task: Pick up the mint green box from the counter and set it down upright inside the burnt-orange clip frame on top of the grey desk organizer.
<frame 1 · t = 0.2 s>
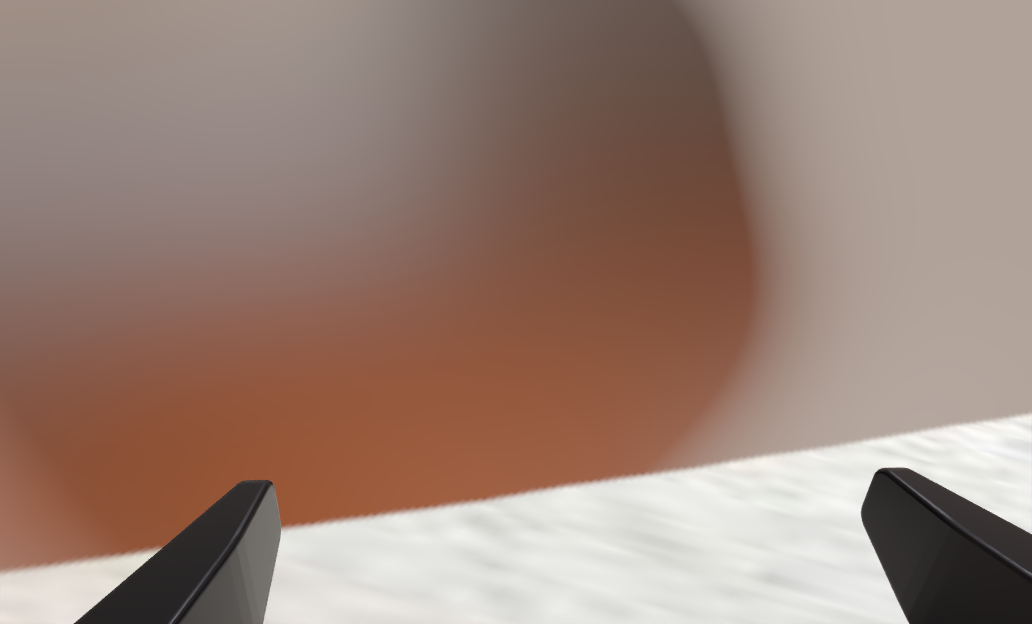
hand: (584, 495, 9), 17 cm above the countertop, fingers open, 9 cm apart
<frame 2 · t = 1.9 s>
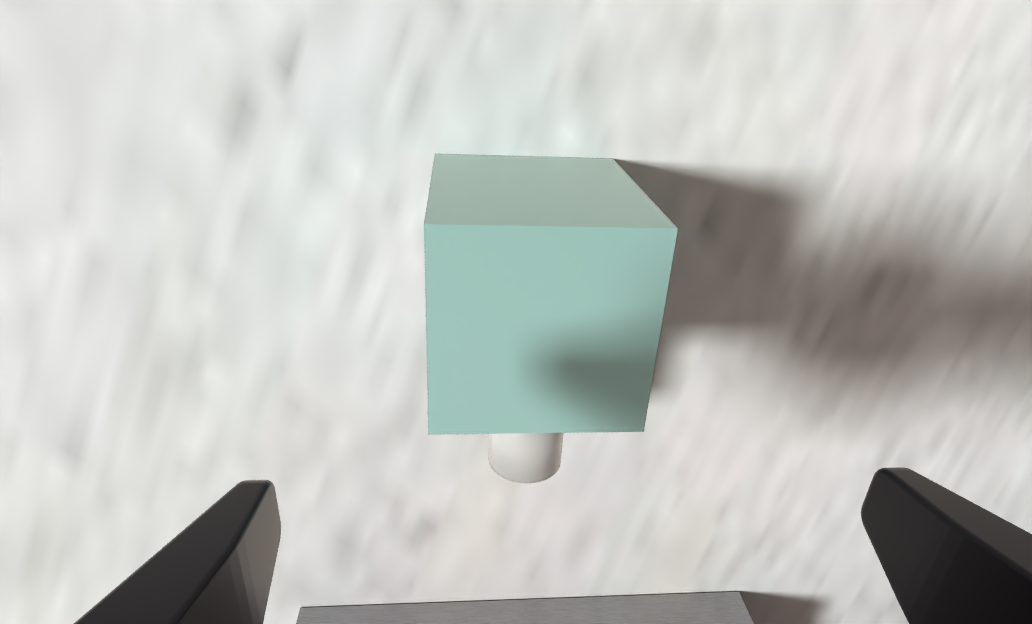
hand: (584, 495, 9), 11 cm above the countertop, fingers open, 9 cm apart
mint green box: (520, 240, 19), on the countertop
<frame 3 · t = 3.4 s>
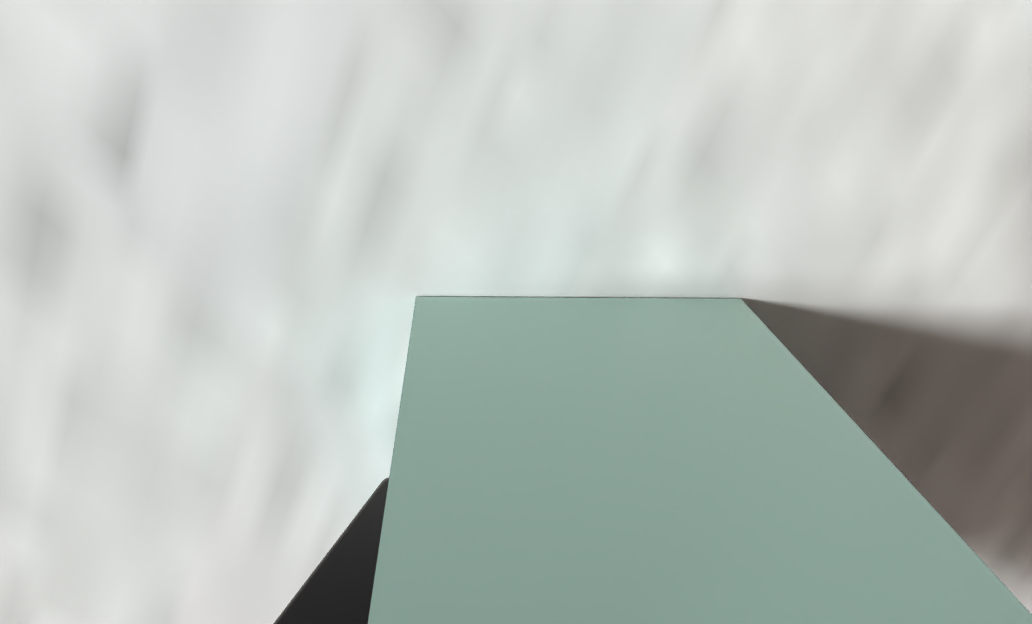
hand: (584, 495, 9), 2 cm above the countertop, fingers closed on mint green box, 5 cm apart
mint green box: (568, 430, 11), on the countertop, touching gripper
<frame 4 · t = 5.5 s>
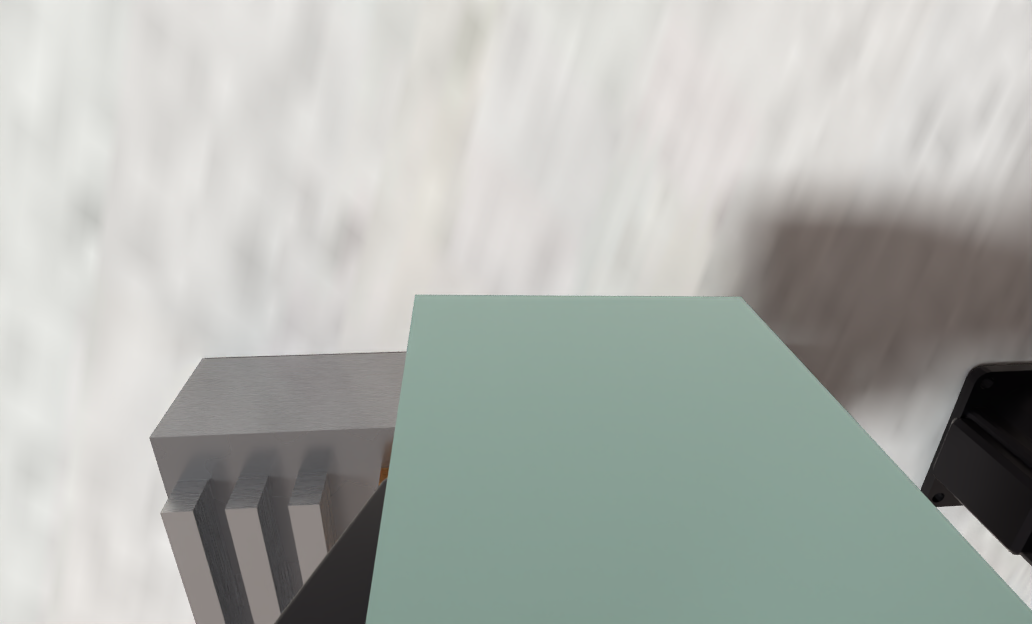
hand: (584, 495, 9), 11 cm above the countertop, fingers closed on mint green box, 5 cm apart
mint green box: (568, 429, 11), point 10 cm above the countertop, touching gripper
grey desk organizer: (484, 516, 24), on the countertop
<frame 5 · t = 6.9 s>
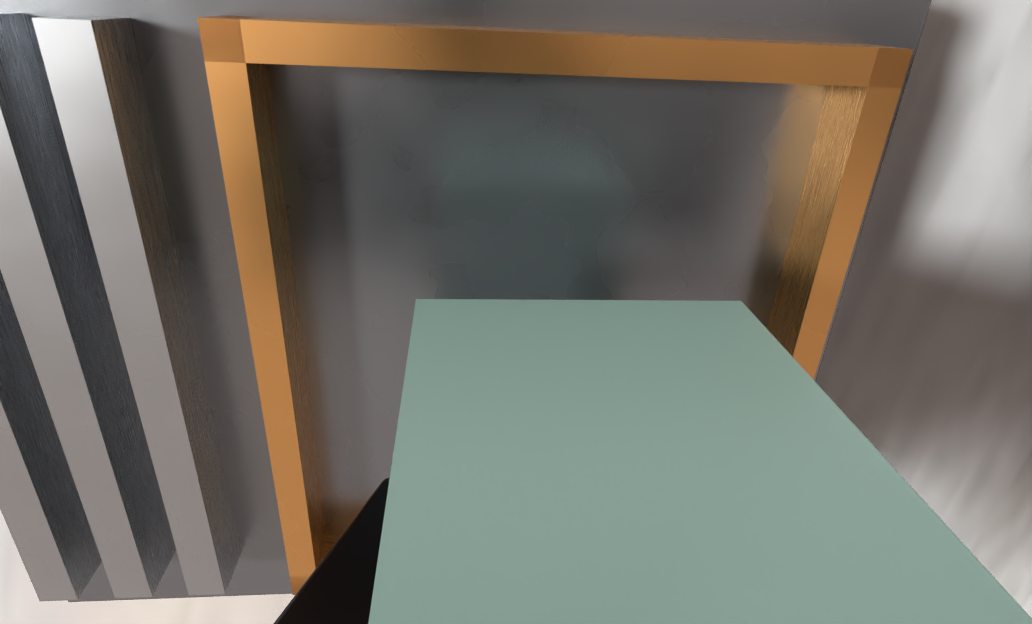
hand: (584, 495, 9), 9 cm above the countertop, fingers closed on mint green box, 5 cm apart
mint green box: (568, 432, 11), point 7 cm above the countertop, touching gripper
grey desk organizer: (430, 267, 17), on the countertop
when the fingers open (7 cm above the countertop, at t = 8.1 s): mint green box drops 1 cm, resting on grey desk organizer.
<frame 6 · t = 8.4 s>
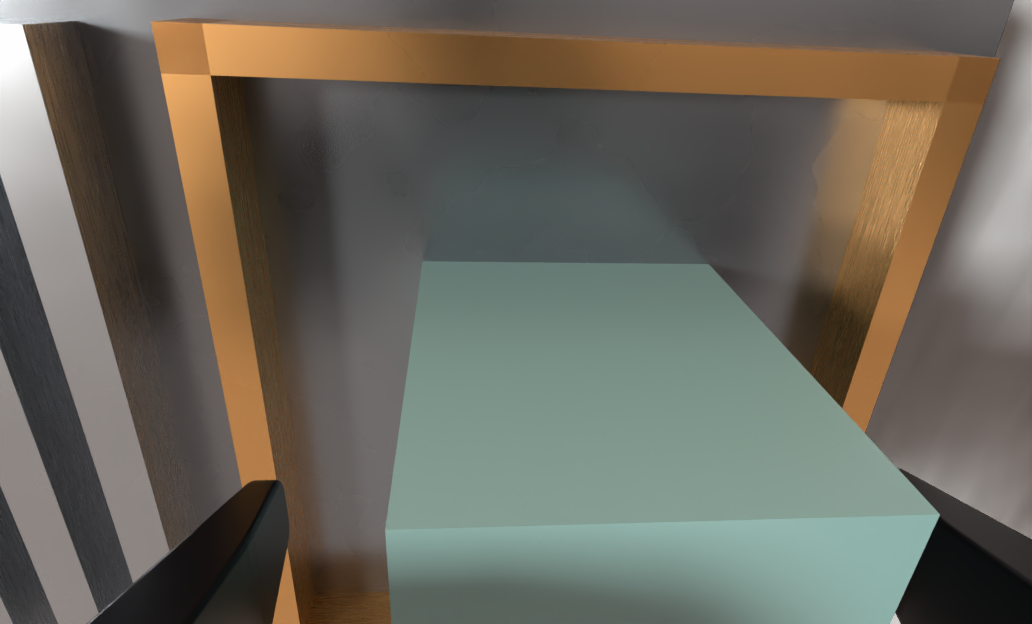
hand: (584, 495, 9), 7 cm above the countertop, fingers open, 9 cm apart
mint green box: (558, 384, 12), point 4 cm above the countertop, touching grey desk organizer
grey desk organizer: (431, 294, 15), on the countertop
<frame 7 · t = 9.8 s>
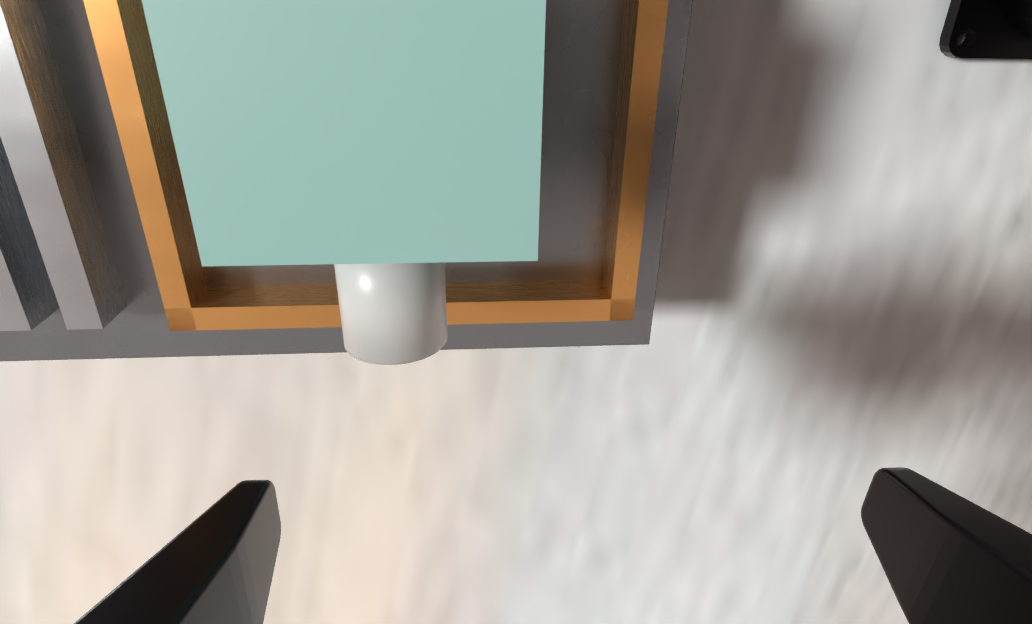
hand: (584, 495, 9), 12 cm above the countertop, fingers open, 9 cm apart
mint green box: (397, 52, 14), point 4 cm above the countertop, touching grey desk organizer
grey desk organizer: (315, 39, 17), on the countertop
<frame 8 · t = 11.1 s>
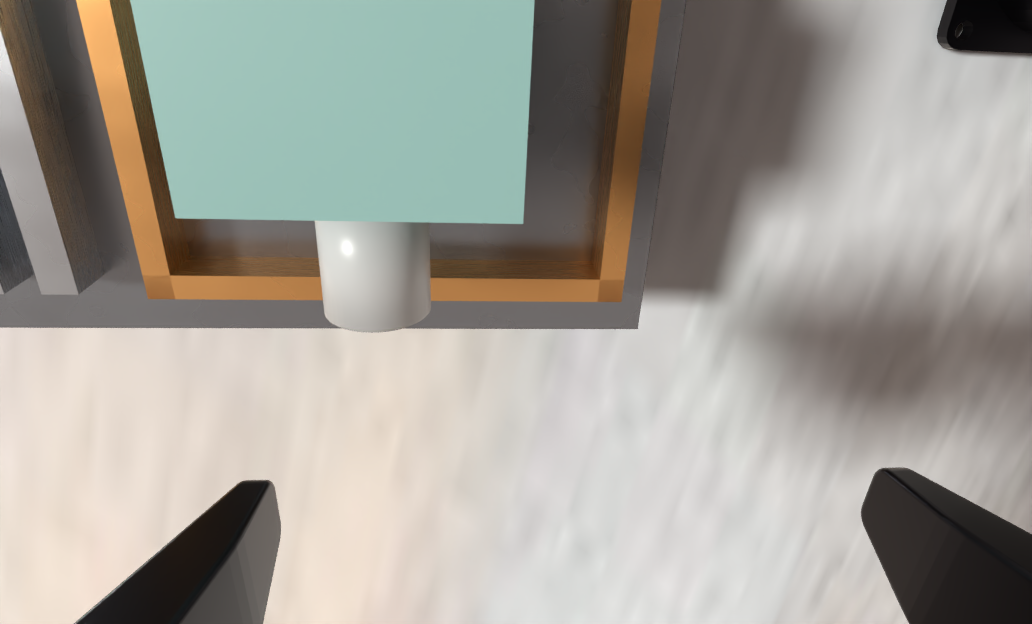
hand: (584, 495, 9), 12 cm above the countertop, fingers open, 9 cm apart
mint green box: (387, 18, 13), point 4 cm above the countertop, touching grey desk organizer
grey desk organizer: (306, 9, 17), on the countertop
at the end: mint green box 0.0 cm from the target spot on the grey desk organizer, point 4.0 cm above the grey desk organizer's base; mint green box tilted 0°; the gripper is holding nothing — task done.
